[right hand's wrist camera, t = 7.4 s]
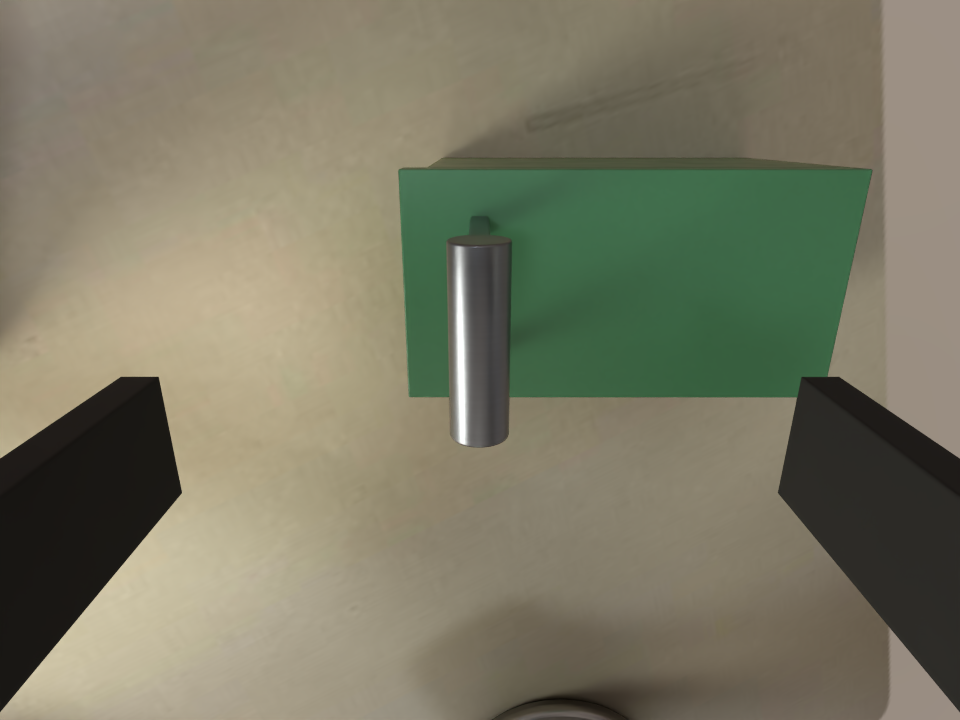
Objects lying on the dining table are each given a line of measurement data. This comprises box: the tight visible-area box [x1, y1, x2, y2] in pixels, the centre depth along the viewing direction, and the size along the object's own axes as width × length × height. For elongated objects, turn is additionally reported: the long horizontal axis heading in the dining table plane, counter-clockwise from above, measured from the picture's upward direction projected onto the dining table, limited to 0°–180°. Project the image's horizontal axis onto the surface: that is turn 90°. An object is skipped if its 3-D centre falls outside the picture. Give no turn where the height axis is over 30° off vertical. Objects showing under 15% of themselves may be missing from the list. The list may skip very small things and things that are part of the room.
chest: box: [428, 158, 850, 168], centre depth 30 cm, size 17×9×10 cm, turn 90°
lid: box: [398, 168, 872, 447], centre depth 21 cm, size 18×9×8 cm, turn 90°
